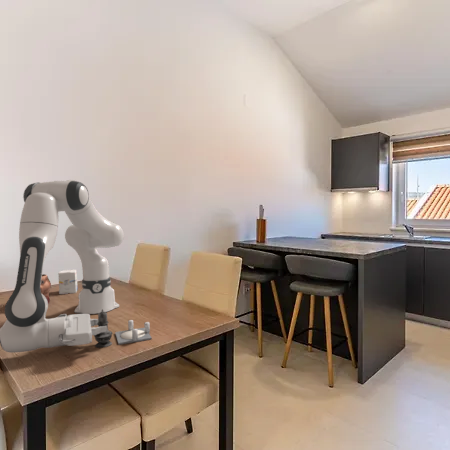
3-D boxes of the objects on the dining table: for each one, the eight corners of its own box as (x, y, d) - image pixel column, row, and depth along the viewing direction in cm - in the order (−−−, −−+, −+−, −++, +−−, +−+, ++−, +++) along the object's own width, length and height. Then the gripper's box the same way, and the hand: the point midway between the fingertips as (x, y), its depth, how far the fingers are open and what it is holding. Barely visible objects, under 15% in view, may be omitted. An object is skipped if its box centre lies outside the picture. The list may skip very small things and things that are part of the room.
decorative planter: (18, 302, 167) (16, 274, 167) (45, 297, 176) (44, 270, 175) (28, 310, 153) (26, 280, 152) (57, 305, 161) (56, 276, 160)
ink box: (61, 290, 189) (60, 270, 188) (77, 289, 192) (77, 269, 191) (58, 294, 181) (57, 272, 180) (76, 293, 183) (75, 271, 183)
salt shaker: (115, 340, 116) (113, 306, 116) (109, 347, 110) (108, 311, 110) (97, 341, 116) (96, 306, 116) (91, 348, 110) (90, 312, 110)
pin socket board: (115, 333, 123) (114, 322, 123) (146, 328, 128) (146, 317, 128) (118, 345, 112) (118, 333, 112) (153, 339, 117) (152, 327, 117)
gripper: (57, 332, 98) (107, 325, 104) (61, 312, 117) (103, 307, 122) (58, 354, 99) (108, 345, 104) (61, 330, 117) (104, 324, 123)
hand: (105, 324), depth 113 cm, fingers open, 5 cm apart
